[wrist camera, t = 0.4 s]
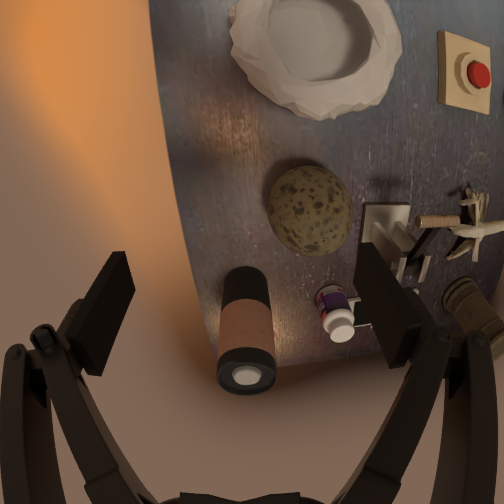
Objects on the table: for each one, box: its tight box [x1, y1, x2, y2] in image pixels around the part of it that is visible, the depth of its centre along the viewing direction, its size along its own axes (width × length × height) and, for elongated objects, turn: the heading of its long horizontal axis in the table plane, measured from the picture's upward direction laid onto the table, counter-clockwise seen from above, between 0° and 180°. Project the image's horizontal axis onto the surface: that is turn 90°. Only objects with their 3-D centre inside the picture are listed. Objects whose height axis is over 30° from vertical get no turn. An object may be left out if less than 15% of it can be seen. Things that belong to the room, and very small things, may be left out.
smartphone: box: [347, 288, 419, 327], centre depth 56 cm, size 7×15×1 cm, turn 96°
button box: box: [437, 31, 491, 115], centre depth 31 cm, size 12×10×4 cm
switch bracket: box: [357, 202, 431, 284], centre depth 42 cm, size 10×8×12 cm
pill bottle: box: [316, 285, 354, 342], centre depth 50 cm, size 5×5×10 cm
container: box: [443, 277, 504, 362], centre depth 48 cm, size 9×9×18 cm
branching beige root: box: [446, 187, 504, 262], centre depth 44 cm, size 9×16×15 cm
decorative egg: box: [267, 165, 353, 257], centre depth 37 cm, size 11×11×15 cm
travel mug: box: [216, 267, 277, 396], centre depth 44 cm, size 8×8×20 cm
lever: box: [403, 215, 460, 276], centre depth 35 cm, size 12×6×2 cm, turn 3°
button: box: [467, 62, 491, 88], centre depth 29 cm, size 4×4×2 cm
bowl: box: [228, 0, 402, 121], centre depth 28 cm, size 21×20×10 cm
